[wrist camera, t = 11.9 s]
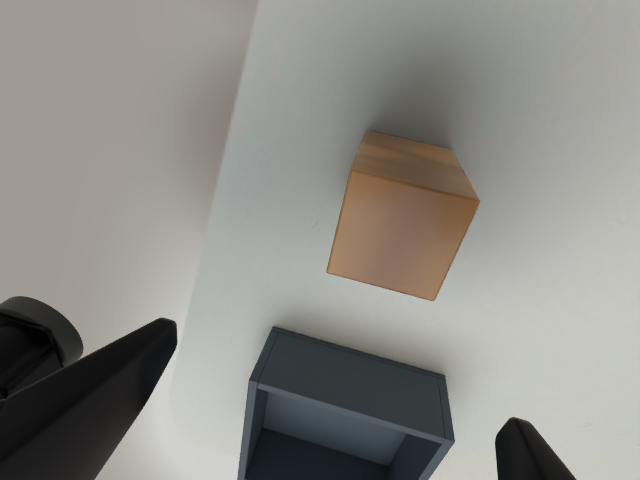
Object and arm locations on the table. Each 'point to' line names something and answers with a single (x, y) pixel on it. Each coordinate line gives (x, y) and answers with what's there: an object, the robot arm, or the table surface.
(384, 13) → the table surface
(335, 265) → the block
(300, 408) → the bin
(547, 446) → the robot arm
